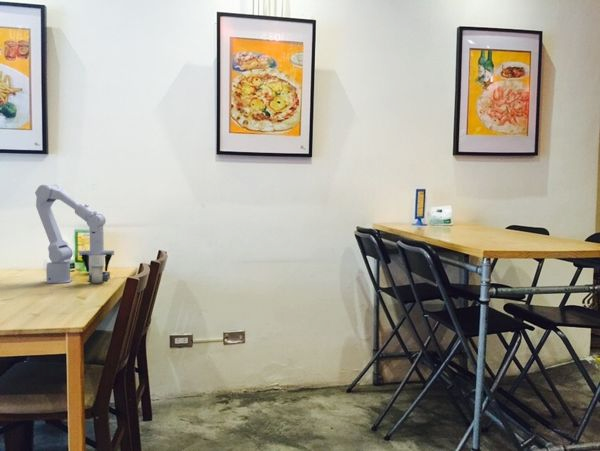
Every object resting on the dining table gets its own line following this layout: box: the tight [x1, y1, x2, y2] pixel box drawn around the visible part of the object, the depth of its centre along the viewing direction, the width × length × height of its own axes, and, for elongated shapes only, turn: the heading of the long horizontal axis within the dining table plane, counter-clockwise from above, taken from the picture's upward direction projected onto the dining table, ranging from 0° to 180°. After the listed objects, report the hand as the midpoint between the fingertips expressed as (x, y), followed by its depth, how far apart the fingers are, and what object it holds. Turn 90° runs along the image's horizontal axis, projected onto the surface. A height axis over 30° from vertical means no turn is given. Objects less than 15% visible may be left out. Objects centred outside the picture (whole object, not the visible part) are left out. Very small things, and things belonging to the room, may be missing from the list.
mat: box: [89, 281, 105, 285], centre depth 228 cm, size 6×6×1 cm
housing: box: [88, 271, 111, 283], centre depth 236 cm, size 8×8×3 cm
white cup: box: [88, 255, 105, 275], centre depth 251 cm, size 8×8×10 cm
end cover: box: [91, 265, 103, 283], centre depth 228 cm, size 5×5×7 cm
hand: (97, 271), depth 228 cm, fingers open, 7 cm apart
